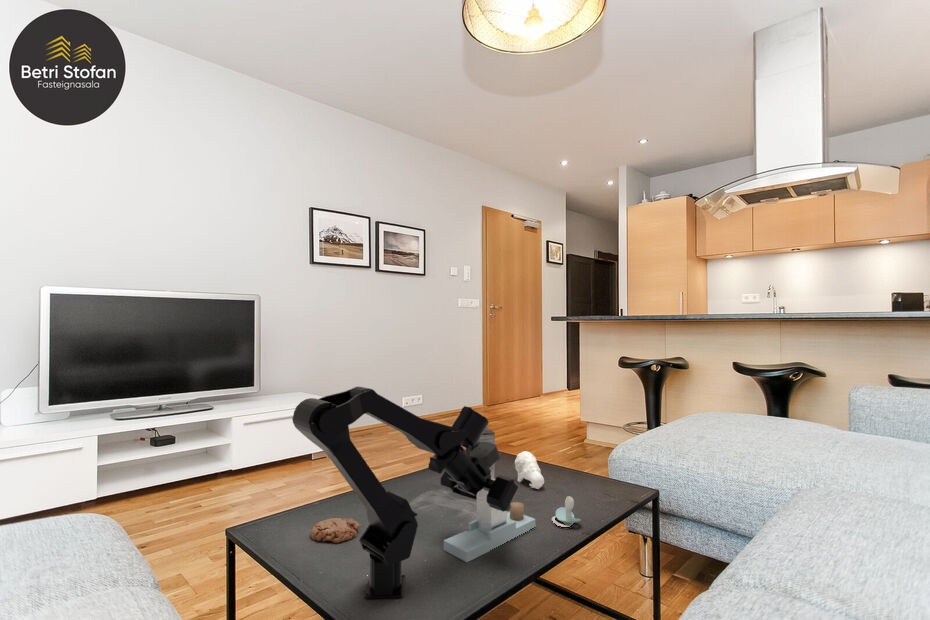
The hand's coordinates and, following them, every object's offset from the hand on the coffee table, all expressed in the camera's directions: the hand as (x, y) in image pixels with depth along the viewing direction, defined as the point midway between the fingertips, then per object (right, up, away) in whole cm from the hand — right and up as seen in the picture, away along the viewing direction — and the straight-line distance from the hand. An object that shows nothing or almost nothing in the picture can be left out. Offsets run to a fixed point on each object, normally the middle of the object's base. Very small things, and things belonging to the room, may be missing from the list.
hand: (495, 504), depth 103 cm
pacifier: (+17, -8, +6) cm, 19 cm away
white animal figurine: (+12, -8, +32) cm, 36 cm away
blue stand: (-1, -7, -1) cm, 7 cm away
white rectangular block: (-1, -5, -1) cm, 5 cm away
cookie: (-36, -8, +1) cm, 37 cm away
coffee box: (-3, -8, +33) cm, 34 cm away
